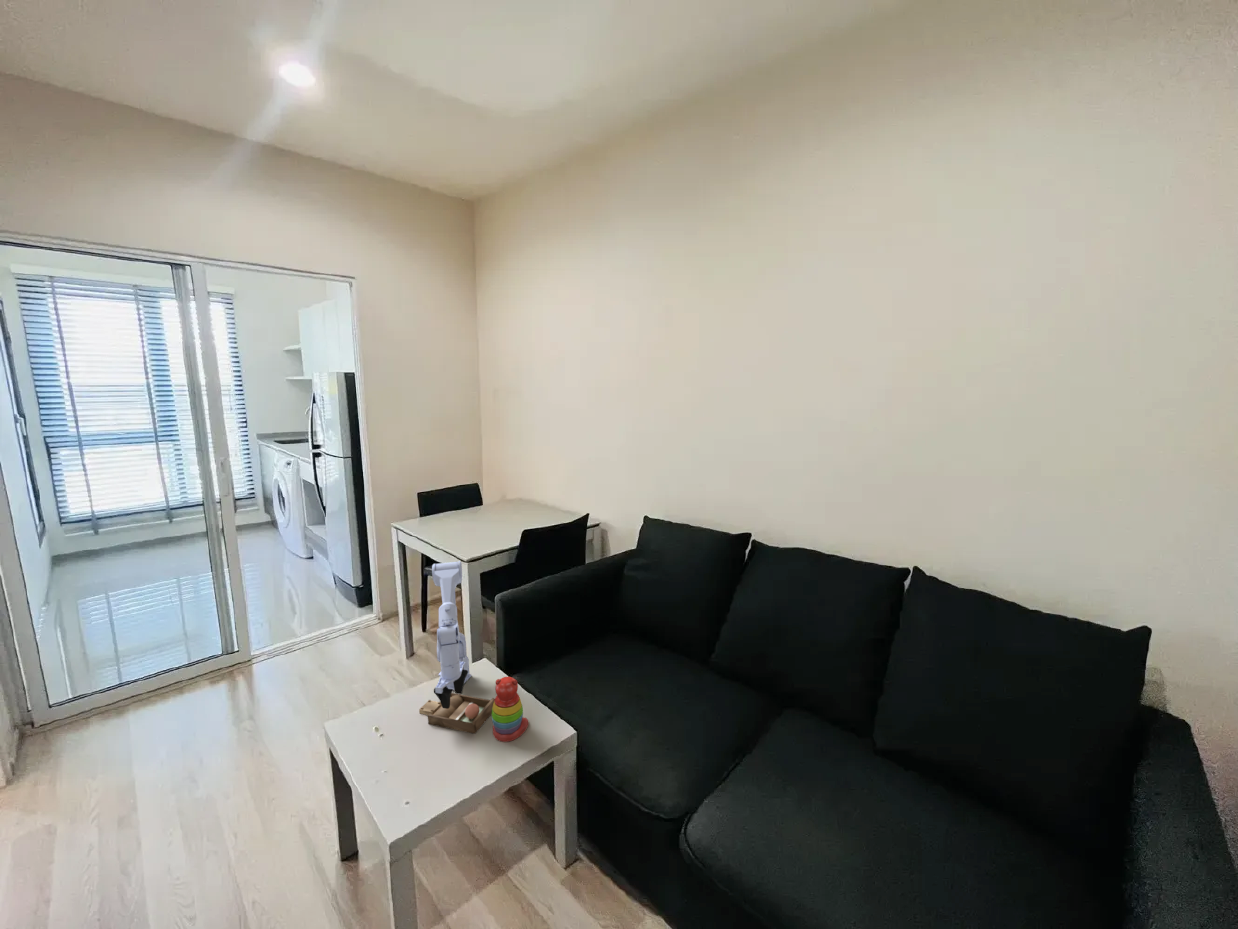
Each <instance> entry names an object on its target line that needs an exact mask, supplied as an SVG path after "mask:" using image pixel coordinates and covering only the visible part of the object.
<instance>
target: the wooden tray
mask: <svg viewBox="0 0 1238 929" xmlns="http://www.w3.org/2000/svg"><path fill="white" fill-rule="evenodd" d="M494 700H495V697H492V698H491V699H486V698H481V697H475V696H470V695H465V694H462V693H461V694H458V693H455V692H452V693H451V697H450V707H449V709H446V708H443V707H442V706H441V707H440V708H439V709H438V710H437V711H436V712H435V713H434V714H433V715H431V714H429V715H427V724H428V725H432V726H436V727H440V728H446V729H451V730H455V731H460V732H465V733H470V734H473V735H476V734H477V733H478V732H479V730H480V729H481V728H482V726H483V725H484V724H485V723H486V721H488V720H489V717H491V716H492V708H493V703H494ZM470 704H477V705H478V707H479V714H478V716H477V717H476V718H474V719H469V718H467V717H466V715H465V710H466V707H467V706H468V705H470Z"/></svg>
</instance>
